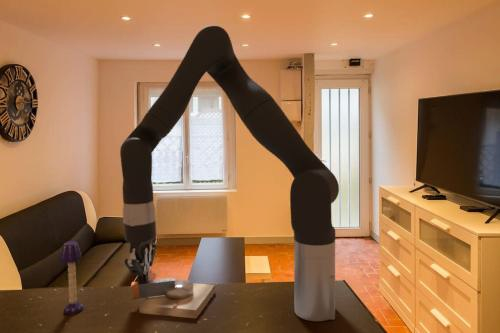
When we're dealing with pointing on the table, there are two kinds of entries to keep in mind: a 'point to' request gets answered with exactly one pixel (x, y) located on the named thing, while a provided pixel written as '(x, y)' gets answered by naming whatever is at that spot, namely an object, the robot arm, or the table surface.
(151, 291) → the orange-tipped lever
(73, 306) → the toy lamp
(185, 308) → the board
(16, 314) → the table surface
